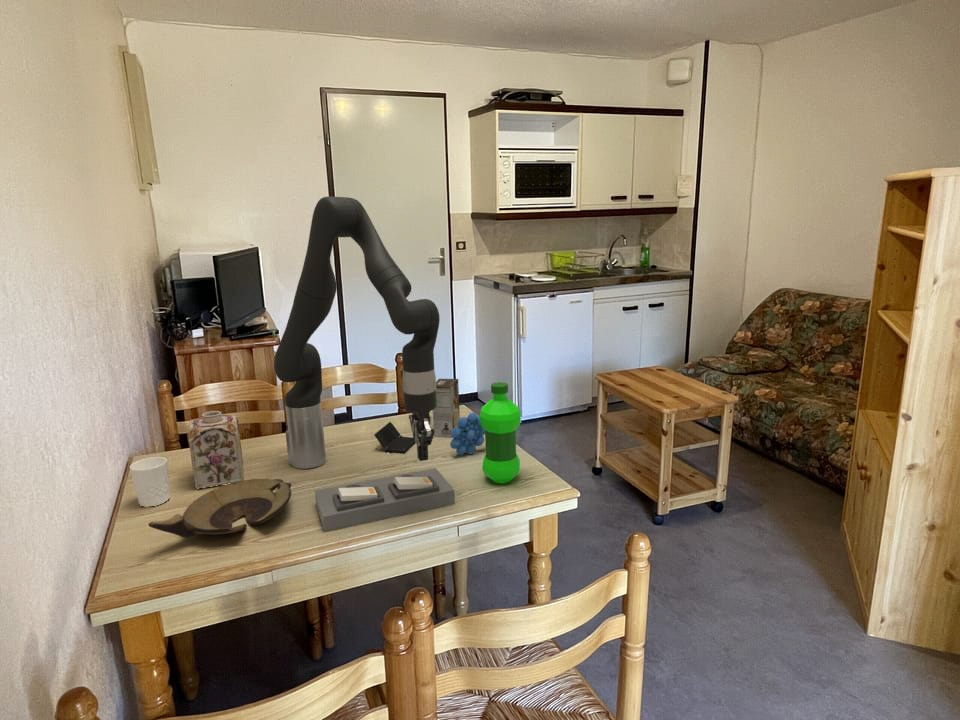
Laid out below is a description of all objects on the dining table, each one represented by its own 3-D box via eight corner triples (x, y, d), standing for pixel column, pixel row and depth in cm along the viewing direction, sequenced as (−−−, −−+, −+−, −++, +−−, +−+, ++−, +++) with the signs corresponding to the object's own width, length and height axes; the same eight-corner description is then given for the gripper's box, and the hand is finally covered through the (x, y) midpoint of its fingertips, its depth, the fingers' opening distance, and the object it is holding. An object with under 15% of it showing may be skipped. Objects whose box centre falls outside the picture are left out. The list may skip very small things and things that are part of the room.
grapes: (481, 444, 177) (480, 405, 175) (492, 452, 172) (491, 412, 169) (444, 452, 172) (443, 412, 170) (454, 460, 166) (453, 419, 164)
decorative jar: (195, 491, 153) (184, 423, 148) (197, 473, 163) (188, 409, 159) (245, 482, 157) (236, 416, 153) (244, 465, 167) (236, 403, 163)
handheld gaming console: (411, 449, 172) (390, 421, 172) (392, 463, 173) (371, 436, 173) (420, 439, 183) (400, 413, 183) (402, 453, 184) (382, 427, 184)
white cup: (136, 512, 143) (129, 472, 140) (137, 498, 149) (130, 460, 147) (173, 504, 146) (167, 465, 144) (172, 491, 153) (166, 454, 151)
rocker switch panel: (324, 531, 131) (322, 512, 130) (315, 504, 144) (314, 486, 143) (454, 503, 142) (454, 486, 141) (436, 480, 155) (435, 464, 154)
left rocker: (341, 501, 134) (341, 495, 134) (338, 492, 138) (338, 487, 138) (377, 499, 137) (377, 494, 137) (372, 491, 141) (373, 486, 141)
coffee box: (441, 426, 194) (438, 377, 190) (460, 427, 192) (458, 378, 188) (433, 436, 185) (430, 386, 181) (453, 437, 184) (451, 386, 180)
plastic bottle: (473, 481, 154) (470, 386, 148) (498, 467, 162) (496, 376, 156) (504, 491, 148) (502, 393, 142) (529, 476, 155) (528, 382, 149)
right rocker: (398, 489, 138) (399, 484, 138) (394, 481, 142) (394, 476, 142) (432, 489, 142) (432, 483, 141) (426, 481, 146) (427, 476, 145)
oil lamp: (307, 526, 134) (304, 494, 132) (154, 568, 120) (148, 533, 118) (285, 488, 153) (281, 460, 151) (150, 520, 139) (145, 489, 137)
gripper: (444, 393, 133) (447, 467, 137) (426, 379, 145) (429, 446, 149) (411, 398, 130) (415, 473, 134) (396, 382, 142) (400, 451, 146)
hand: (422, 459), depth 142 cm, fingers closed
